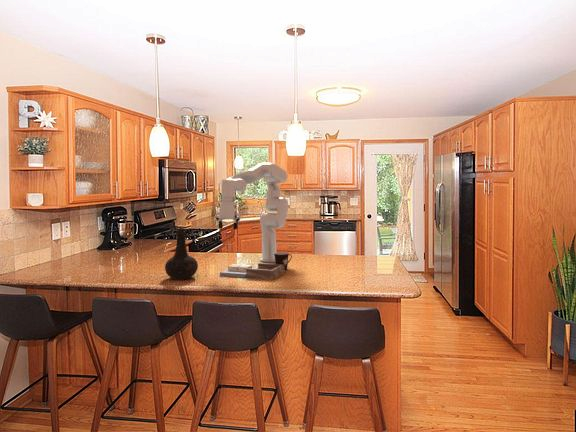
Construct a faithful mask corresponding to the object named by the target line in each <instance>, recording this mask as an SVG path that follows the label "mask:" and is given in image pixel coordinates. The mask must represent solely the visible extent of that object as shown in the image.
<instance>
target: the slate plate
mask: <svg viewBox="0 0 576 432" xmlns="http://www.w3.org/2000/svg"><path fill="white" fill-rule="evenodd" d="M252 269H258V267H253V266H252ZM219 277H230V278H231V277H232V278H243V279H244V278H245V279H246V272H243V271H229V270H228V268H227V269H225V270H222V271H220V272H219Z"/></svg>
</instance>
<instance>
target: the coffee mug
mask: <svg viewBox="0 0 576 432" xmlns="http://www.w3.org/2000/svg"><path fill="white" fill-rule="evenodd" d="M276 252H277V253H274V255H275V262H274V264H283V265H284V272H286V271H287V270H288V264H289V263H290V262H291V260H292V257H293V256H292V254H290V253H289V252H288V251H280V252H279V251H276ZM289 256H290V259H289Z"/></svg>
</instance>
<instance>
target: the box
mask: <svg viewBox="0 0 576 432" xmlns="http://www.w3.org/2000/svg"><path fill="white" fill-rule="evenodd" d="M257 268H258V269H251V268H247V269H246V278H248V279H259V280H271V281H272V280H273V281H274V280H275V279H277V278H278V277H280V276H282V275H284V274H285V271H284V265H283V264H276V263H268V262H258V263H257ZM246 278H245V279H246Z"/></svg>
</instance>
